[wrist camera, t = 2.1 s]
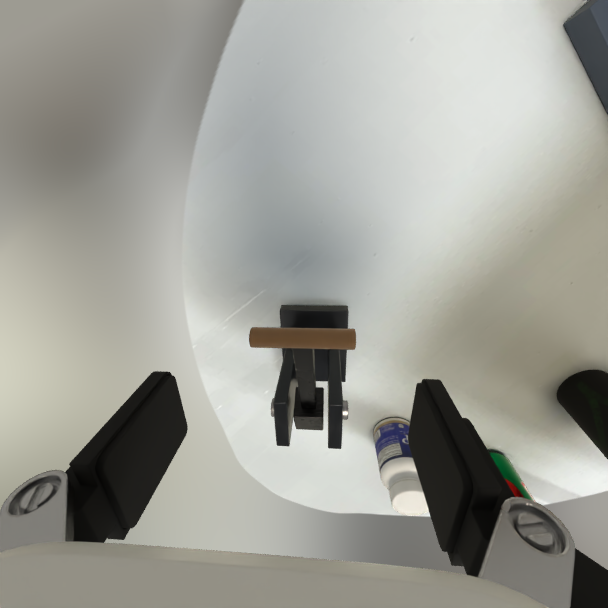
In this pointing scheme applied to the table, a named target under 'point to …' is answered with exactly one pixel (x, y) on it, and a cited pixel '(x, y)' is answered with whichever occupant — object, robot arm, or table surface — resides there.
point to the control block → (592, 43)
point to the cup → (588, 404)
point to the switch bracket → (326, 369)
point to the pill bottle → (399, 467)
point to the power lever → (305, 364)
